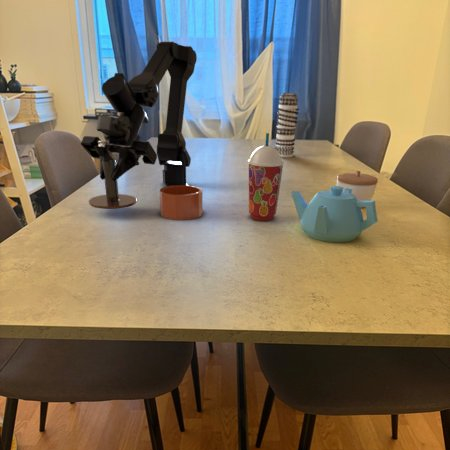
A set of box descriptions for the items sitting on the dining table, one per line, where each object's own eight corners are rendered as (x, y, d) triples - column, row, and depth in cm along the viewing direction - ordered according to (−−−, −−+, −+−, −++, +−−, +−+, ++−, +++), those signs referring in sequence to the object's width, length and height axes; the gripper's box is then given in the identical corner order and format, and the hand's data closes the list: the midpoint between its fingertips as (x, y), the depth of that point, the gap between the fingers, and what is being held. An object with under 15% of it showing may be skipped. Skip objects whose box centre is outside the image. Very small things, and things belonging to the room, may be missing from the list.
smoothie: (281, 215, 111) (289, 132, 102) (274, 224, 104) (281, 136, 95) (250, 211, 114) (255, 130, 104) (241, 220, 107) (245, 134, 97)
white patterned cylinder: (295, 157, 188) (302, 94, 176) (274, 156, 188) (279, 93, 176) (293, 154, 196) (298, 93, 184) (272, 153, 196) (277, 92, 184)
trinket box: (346, 198, 128) (351, 165, 124) (379, 205, 121) (386, 171, 117) (326, 204, 121) (330, 170, 117) (360, 212, 115) (366, 177, 110)
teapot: (311, 247, 91) (318, 197, 86) (286, 225, 104) (291, 179, 99) (376, 243, 94) (386, 194, 89) (344, 222, 107) (351, 178, 102)
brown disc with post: (131, 197, 115) (127, 155, 110) (141, 208, 106) (138, 163, 101) (86, 200, 111) (80, 157, 106) (93, 213, 102) (87, 166, 97)
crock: (194, 206, 117) (193, 183, 114) (208, 217, 108) (208, 193, 105) (155, 209, 113) (154, 186, 110) (167, 221, 104) (166, 196, 101)
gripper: (80, 100, 104) (56, 155, 100) (148, 104, 98) (125, 162, 94) (103, 131, 114) (82, 182, 110) (166, 136, 108) (146, 190, 104)
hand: (107, 179), depth 104 cm, fingers closed on brown disc with post, 3 cm apart
